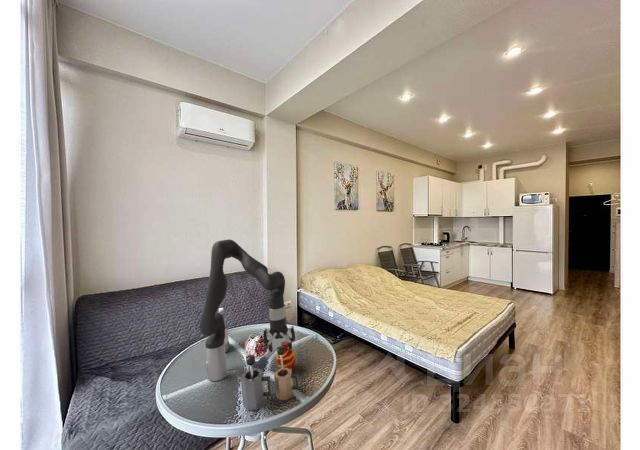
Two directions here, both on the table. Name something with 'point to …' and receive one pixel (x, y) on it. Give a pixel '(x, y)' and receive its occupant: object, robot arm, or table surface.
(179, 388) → the table surface
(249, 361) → the steel press plunger
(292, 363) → the potion bottle
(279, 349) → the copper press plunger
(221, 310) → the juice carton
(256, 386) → the steel press carafe
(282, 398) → the tan handled cylinder
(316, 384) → the table surface
